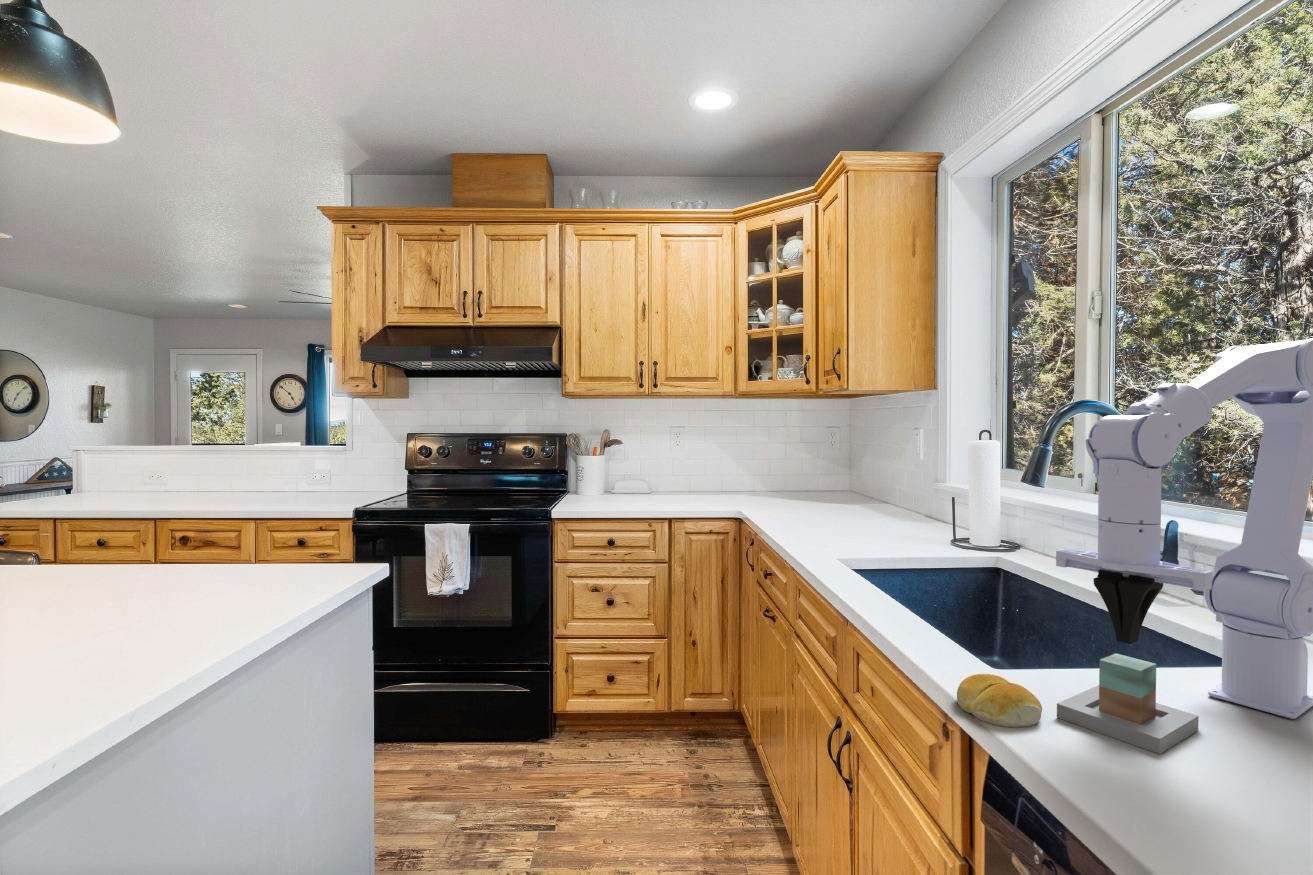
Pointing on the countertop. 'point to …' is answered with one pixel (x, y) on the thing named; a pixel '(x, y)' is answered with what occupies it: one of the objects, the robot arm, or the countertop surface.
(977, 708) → the bread roll
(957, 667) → the countertop surface
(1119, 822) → the countertop surface
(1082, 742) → the countertop surface
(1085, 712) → the base plate
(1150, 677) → the brick stack
